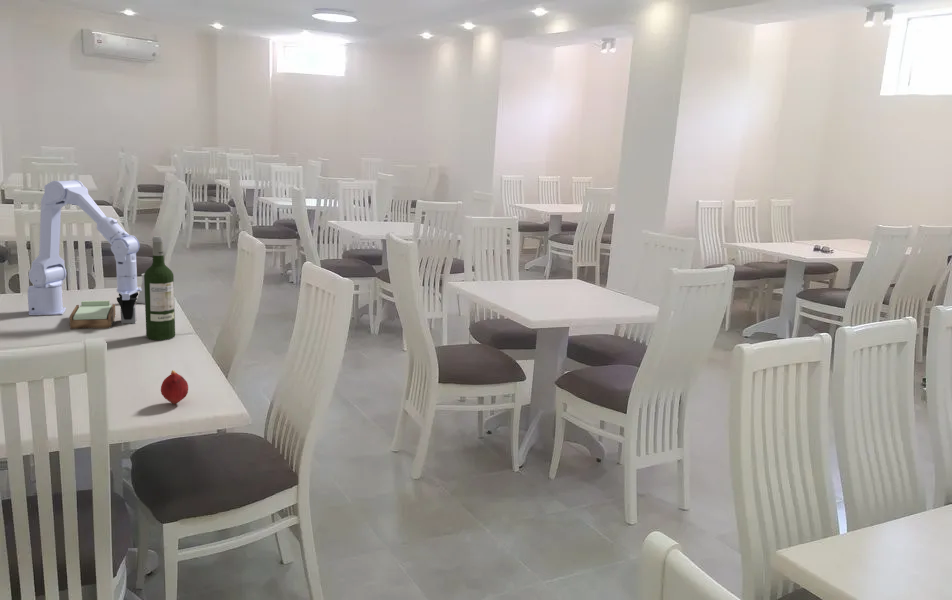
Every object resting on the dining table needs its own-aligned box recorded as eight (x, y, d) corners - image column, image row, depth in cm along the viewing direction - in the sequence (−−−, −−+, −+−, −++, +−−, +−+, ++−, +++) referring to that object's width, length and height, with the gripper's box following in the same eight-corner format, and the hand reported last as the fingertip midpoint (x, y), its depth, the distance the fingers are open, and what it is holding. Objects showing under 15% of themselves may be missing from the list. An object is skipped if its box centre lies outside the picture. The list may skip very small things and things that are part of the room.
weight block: (121, 323, 230) (120, 308, 229) (122, 320, 234) (121, 304, 233) (135, 323, 231) (134, 307, 230) (136, 319, 235) (135, 304, 234)
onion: (193, 400, 171) (192, 367, 170) (181, 409, 166) (180, 375, 164) (168, 398, 172) (167, 365, 170) (156, 407, 166) (155, 373, 164)
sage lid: (73, 319, 221) (73, 312, 220) (80, 307, 234) (79, 300, 234) (106, 318, 224) (106, 311, 223) (111, 307, 237) (111, 300, 237)
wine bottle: (157, 342, 213) (153, 239, 207) (140, 336, 217) (136, 236, 211) (180, 336, 220) (178, 237, 213) (164, 331, 224) (161, 233, 217)
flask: (153, 305, 255) (152, 276, 253) (132, 303, 255) (131, 275, 253) (162, 300, 262) (161, 272, 260) (141, 299, 262) (140, 271, 260)
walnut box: (70, 328, 221) (69, 316, 220) (77, 316, 235) (76, 304, 234) (110, 327, 225) (110, 315, 224) (115, 315, 238) (115, 304, 238)
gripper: (139, 279, 224) (141, 322, 227) (142, 270, 237) (143, 311, 240) (113, 279, 221) (115, 323, 224) (118, 270, 235) (120, 312, 238)
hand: (128, 317), depth 232 cm, fingers closed on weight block, 4 cm apart
